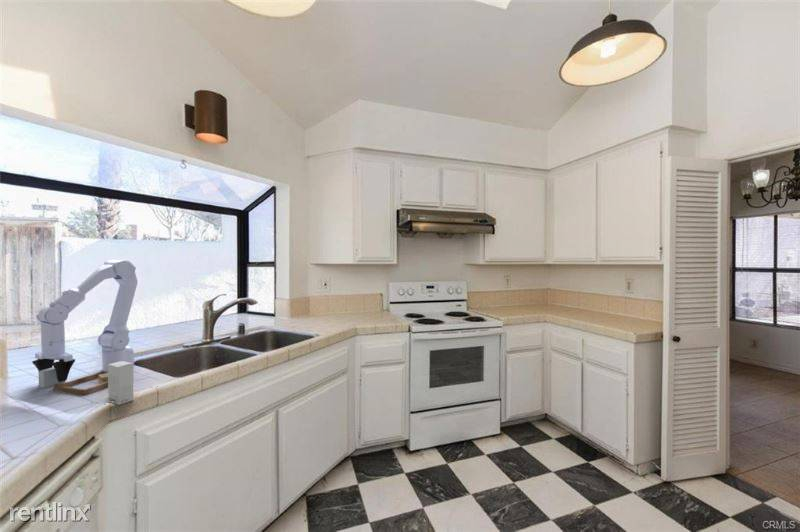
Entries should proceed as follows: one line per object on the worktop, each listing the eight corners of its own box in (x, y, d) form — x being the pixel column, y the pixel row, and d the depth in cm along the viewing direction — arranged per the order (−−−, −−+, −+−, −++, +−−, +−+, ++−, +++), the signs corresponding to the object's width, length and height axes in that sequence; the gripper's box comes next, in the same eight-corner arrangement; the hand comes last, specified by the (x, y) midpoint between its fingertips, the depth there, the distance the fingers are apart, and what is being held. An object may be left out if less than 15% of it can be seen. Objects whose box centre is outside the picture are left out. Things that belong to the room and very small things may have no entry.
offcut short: (109, 377, 124) (109, 372, 124) (113, 380, 121) (113, 375, 121) (98, 380, 121) (98, 374, 121) (102, 383, 118) (102, 377, 118)
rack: (103, 378, 127) (103, 370, 126) (132, 382, 123) (132, 374, 123) (53, 395, 112) (53, 386, 112) (84, 399, 109) (84, 390, 108)
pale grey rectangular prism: (60, 384, 121) (59, 365, 120) (65, 385, 120) (65, 366, 120) (39, 391, 115) (38, 371, 115) (44, 392, 114) (43, 371, 114)
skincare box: (134, 400, 108) (133, 362, 108) (118, 405, 105) (117, 367, 104) (123, 396, 111) (122, 360, 110) (107, 401, 107) (106, 364, 107)
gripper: (23, 342, 115) (24, 382, 116) (54, 345, 112) (55, 386, 112) (49, 337, 122) (50, 375, 123) (79, 340, 119) (80, 378, 119)
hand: (54, 380), depth 118 cm, fingers open, 7 cm apart
